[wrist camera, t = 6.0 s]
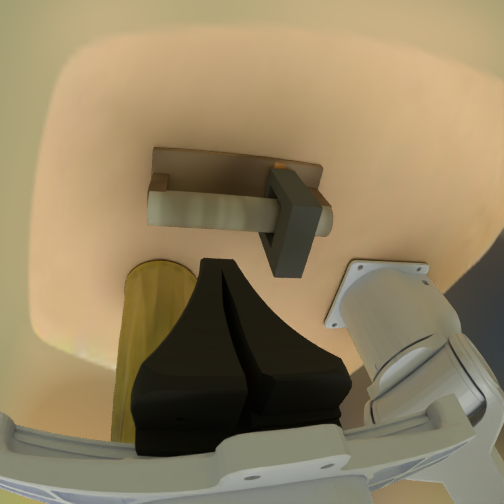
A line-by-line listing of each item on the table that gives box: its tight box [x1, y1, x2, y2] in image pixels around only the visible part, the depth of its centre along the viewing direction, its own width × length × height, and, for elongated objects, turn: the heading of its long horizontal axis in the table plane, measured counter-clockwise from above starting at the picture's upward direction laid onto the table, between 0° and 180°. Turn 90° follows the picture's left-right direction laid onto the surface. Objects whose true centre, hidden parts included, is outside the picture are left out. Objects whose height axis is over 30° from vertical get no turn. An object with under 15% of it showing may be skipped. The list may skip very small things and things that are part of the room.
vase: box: [111, 261, 197, 444], centre depth 19 cm, size 6×6×14 cm
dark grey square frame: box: [258, 168, 323, 278], centre depth 19 cm, size 2×4×5 cm, turn 170°
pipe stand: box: [147, 147, 333, 237], centre depth 20 cm, size 11×5×4 cm, turn 80°
